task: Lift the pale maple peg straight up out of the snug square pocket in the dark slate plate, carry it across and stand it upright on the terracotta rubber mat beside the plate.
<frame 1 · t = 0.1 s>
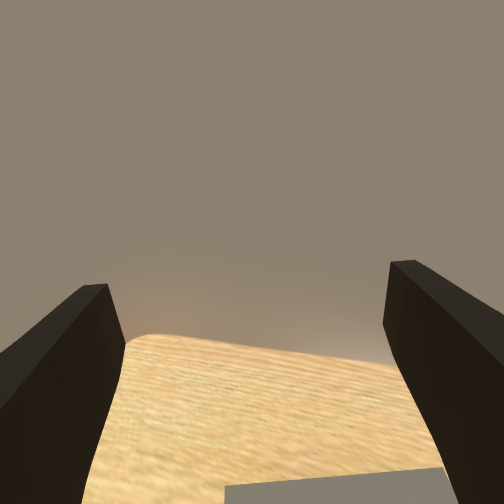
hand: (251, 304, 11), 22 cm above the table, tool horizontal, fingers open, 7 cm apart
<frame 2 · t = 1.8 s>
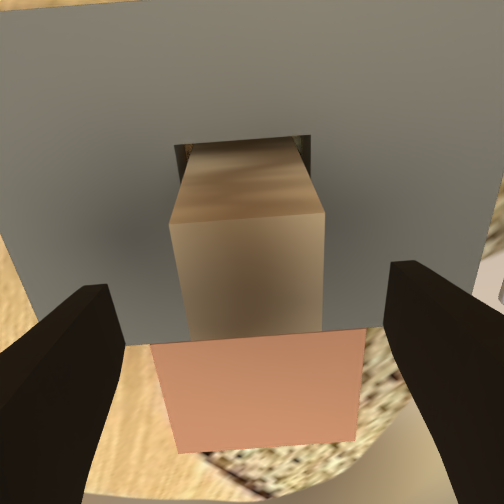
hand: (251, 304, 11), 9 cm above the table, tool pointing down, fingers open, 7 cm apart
peg: (245, 179, 18), resting in pocket plate
pocket plate: (245, 180, 18), on the table
mat: (262, 392, 25), on the table
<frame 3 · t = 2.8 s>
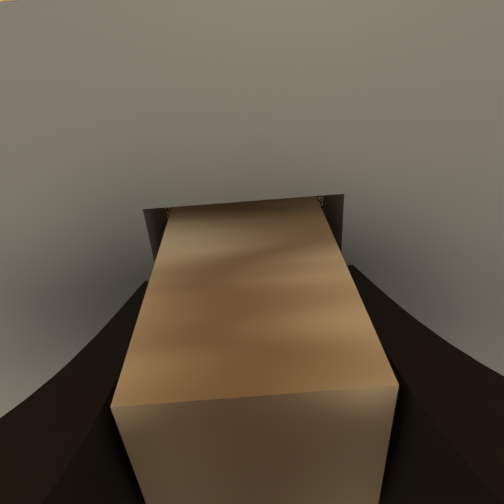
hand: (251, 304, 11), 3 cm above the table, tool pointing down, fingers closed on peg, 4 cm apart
peg: (247, 239, 14), resting in pocket plate, touching gripper
pocket plate: (247, 240, 14), on the table
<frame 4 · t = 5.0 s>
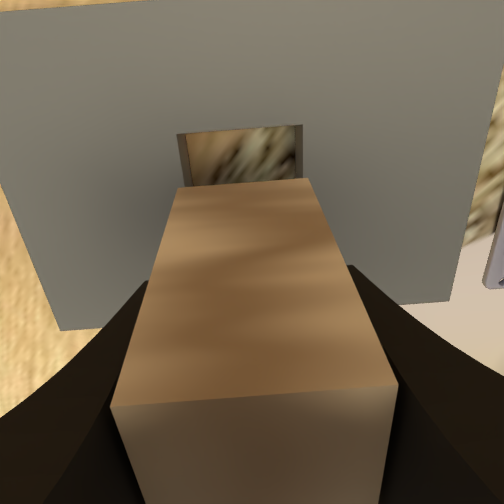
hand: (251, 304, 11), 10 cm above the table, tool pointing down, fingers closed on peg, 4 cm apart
peg: (247, 239, 14), point 7 cm above the table, touching gripper
pocket plate: (243, 168, 19), on the table
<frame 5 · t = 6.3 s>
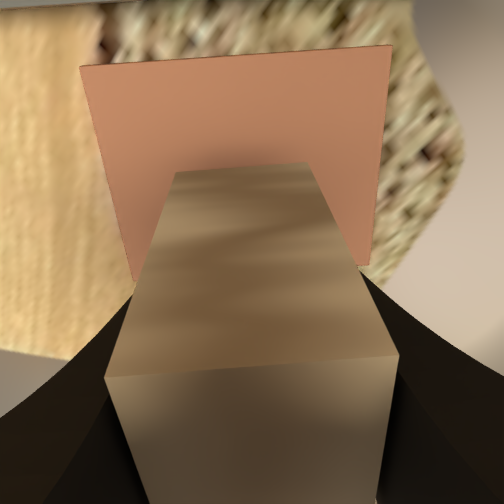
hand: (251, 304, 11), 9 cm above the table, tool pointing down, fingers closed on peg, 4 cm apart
peg: (246, 225, 13), point 6 cm above the table, touching gripper
mat: (244, 176, 19), on the table
when the fingers open (5 cm above the table, at t = 7.4 s): peg stays where it is, resting on mat.
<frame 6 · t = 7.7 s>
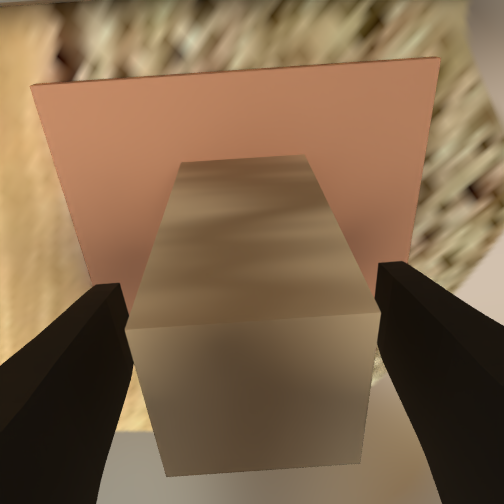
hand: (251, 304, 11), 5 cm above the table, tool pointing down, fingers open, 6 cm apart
peg: (246, 214, 14), resting on mat
mat: (246, 219, 15), on the table
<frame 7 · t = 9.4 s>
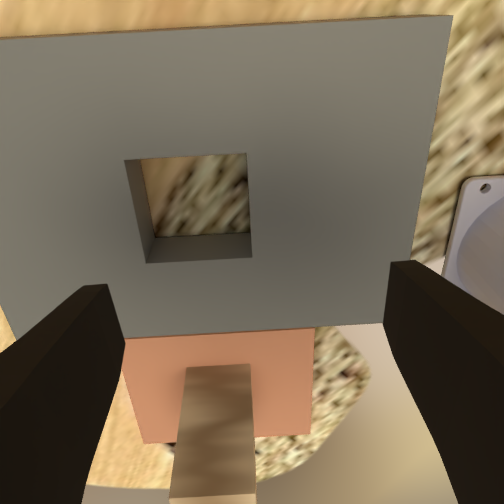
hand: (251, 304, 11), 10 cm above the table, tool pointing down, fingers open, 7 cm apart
peg: (221, 387, 27), resting on mat
pocket plate: (197, 190, 20), on the table
mat: (221, 386, 27), on the table
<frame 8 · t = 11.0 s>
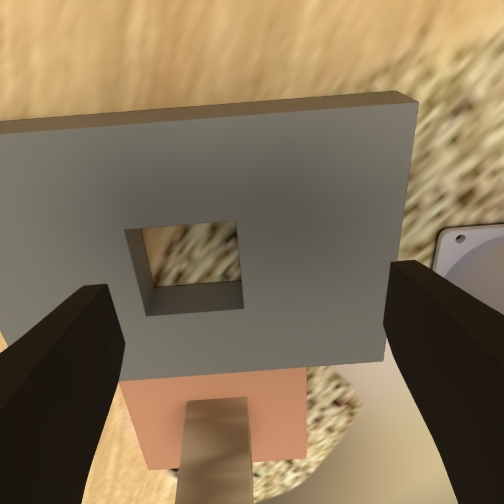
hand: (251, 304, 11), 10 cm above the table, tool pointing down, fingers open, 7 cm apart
peg: (220, 418, 28), resting on mat
pocket plate: (192, 245, 22), on the table
mat: (220, 417, 29), on the table
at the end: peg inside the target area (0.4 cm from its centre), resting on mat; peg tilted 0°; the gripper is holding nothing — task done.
